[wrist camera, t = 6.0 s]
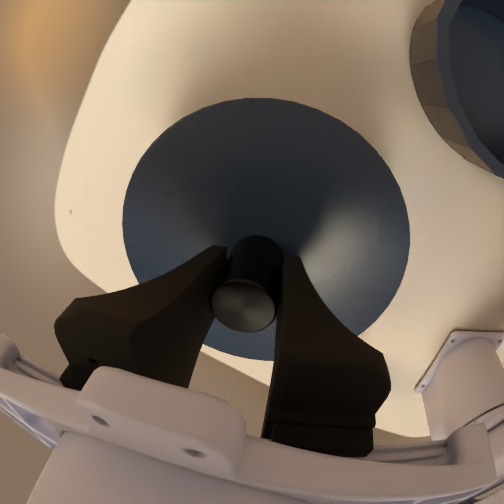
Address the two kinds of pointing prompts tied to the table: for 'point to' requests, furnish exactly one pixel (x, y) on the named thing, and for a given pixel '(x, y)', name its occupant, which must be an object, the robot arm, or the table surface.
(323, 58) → the table surface
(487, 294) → the table surface
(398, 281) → the lid
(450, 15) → the pot
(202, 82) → the table surface
